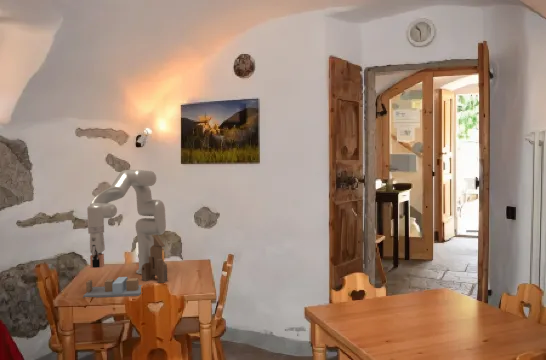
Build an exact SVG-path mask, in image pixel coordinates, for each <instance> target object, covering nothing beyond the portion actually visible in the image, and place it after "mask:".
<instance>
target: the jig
mask: <svg viewBox="0 0 546 360" xmlns="http://www.w3.org/2000/svg"><path fill="white" fill-rule="evenodd" d="M114 281H115V279H114V278H111V279H110V278H107V279H106V280H105V281H104V286H93V279H90V280H88V281H86V283H85V284H86V285H85V287H86V293H84V294H83V297H82V298H84V297H96V298H116V297H117V298H119V297H139V295H140V294H141V295H142V293H141V286H142V285H143V284H139V278H137V277H135V278H134V277H133V278H132V277H131V278H128V280H127V281H126V287H127V288H126V289H125V290H124V292H123V293H116V294H113V288H112V283H113V282H114ZM141 295H140V296H141Z"/></svg>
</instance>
